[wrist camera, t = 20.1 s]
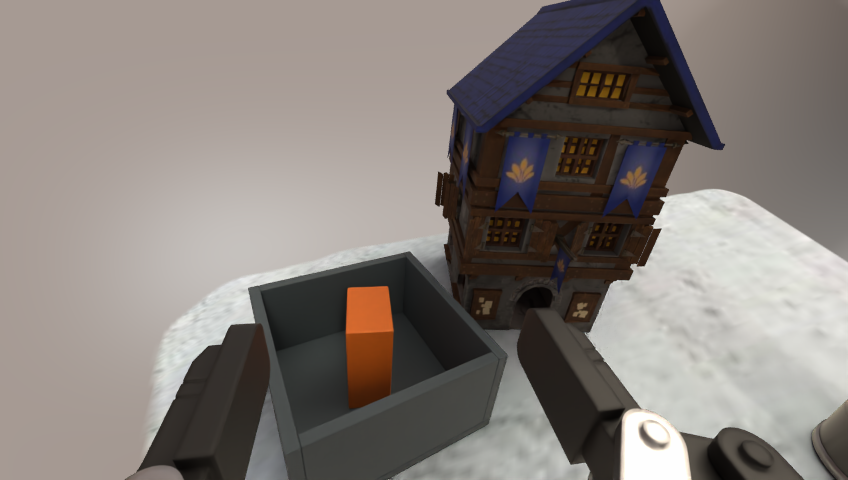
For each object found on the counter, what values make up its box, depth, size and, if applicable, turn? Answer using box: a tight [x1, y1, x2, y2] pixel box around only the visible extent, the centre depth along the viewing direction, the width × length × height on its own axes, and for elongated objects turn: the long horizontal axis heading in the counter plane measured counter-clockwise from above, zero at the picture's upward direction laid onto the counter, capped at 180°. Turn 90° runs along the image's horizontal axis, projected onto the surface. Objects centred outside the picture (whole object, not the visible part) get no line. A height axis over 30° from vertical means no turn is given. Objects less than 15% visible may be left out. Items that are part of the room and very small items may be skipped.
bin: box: [248, 252, 508, 480], centre depth 28 cm, size 15×15×8 cm
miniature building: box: [435, 0, 725, 332], centre depth 35 cm, size 19×21×30 cm
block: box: [346, 286, 394, 409], centre depth 28 cm, size 3×5×8 cm, turn 9°
